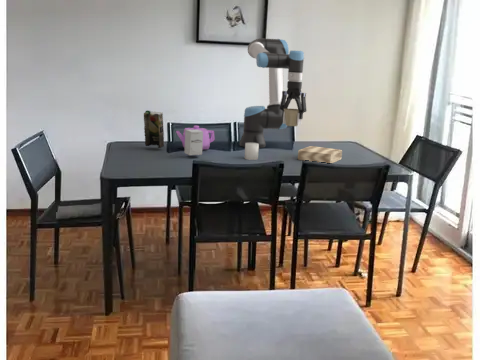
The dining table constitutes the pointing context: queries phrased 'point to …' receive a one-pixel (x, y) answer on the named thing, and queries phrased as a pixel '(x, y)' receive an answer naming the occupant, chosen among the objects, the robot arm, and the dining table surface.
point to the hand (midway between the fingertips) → (291, 124)
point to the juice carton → (153, 128)
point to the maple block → (319, 154)
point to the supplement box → (193, 142)
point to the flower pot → (291, 116)
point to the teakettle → (205, 136)
